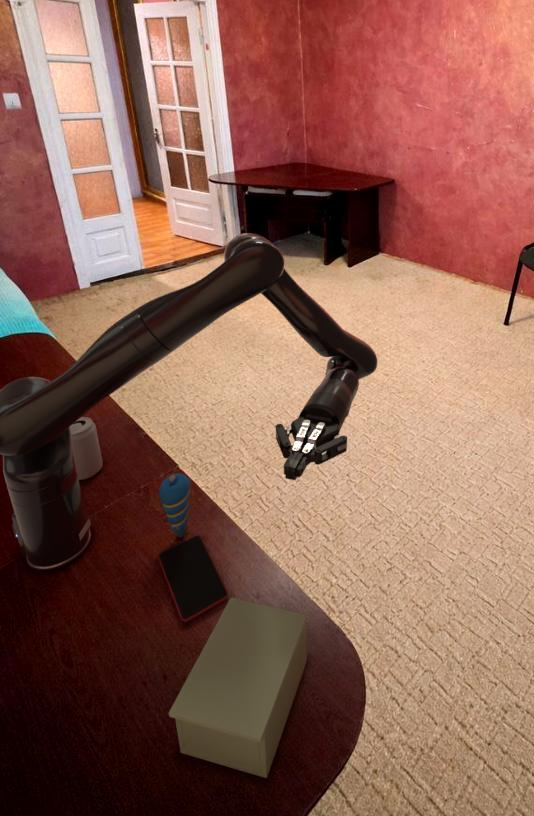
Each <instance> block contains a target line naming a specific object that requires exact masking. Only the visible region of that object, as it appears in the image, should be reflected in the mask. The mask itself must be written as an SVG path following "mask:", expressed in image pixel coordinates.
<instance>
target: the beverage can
mask: <svg viewBox="0 0 534 816" xmlns="http://www.w3.org/2000/svg"><path fill="white" fill-rule="evenodd" d="M70 431H71V437H72V448H73V456H74V461H75V466H76V471H77V475H78V480H79V481H83V480H87V479H90V478H92V477H93V476H95V475H96V474H97V473H99V471H101V469H102V468H103V465H104V463H103V457H102V453H101V447H100V441H99V435H98V432H97V431H98V430H97V426H96V423H94V421H93V419H92V418H90V417H88V416H82V417H80V418H79V419H78V420H77V421H76V422H75V423H73V424H72V425H71V426H70Z"/></svg>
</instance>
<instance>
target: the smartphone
mask: <svg viewBox="0 0 534 816" xmlns="http://www.w3.org/2000/svg"><path fill="white" fill-rule="evenodd" d="M157 560H158V562H159V564H160V567H161V570H162V572H163V575H164V578H165V580H166V583H167V586H168V588H169V591H170V593H171V596H172V599H173V601H174V604H175V607H176V610H177V612H178V615H179V618H180V620H181V621H182V622H183V623H188V622H190V621H192V620H193V619H195V618H197V617H198V616H200V615H202V614H204V613H206V612H207V611H209V610H210V609H213V608H214V607H216V606H218V605H219V604H221V603H222V602H225V601H226V600H227V598H228V597H229V591H228V589H227V587H226V584H225V582H224V581H223V579H222V577H221V575H220V572H219V570H218V568H217V566H216V565H215V562H214V559H212V556H211V554H210V552H209V550H208V548H207V546H206V544H205V542H204V540H203V538H202V536H201V535H198V534H197V535H193V536H192V537H190V538H188V539H186V540H183V541H181V542H179V543H177V544H175V545H173V546H171V547H169V548H167V549H165V550H163V551H161V552H160V553H159V554H158V556H157Z"/></svg>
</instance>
